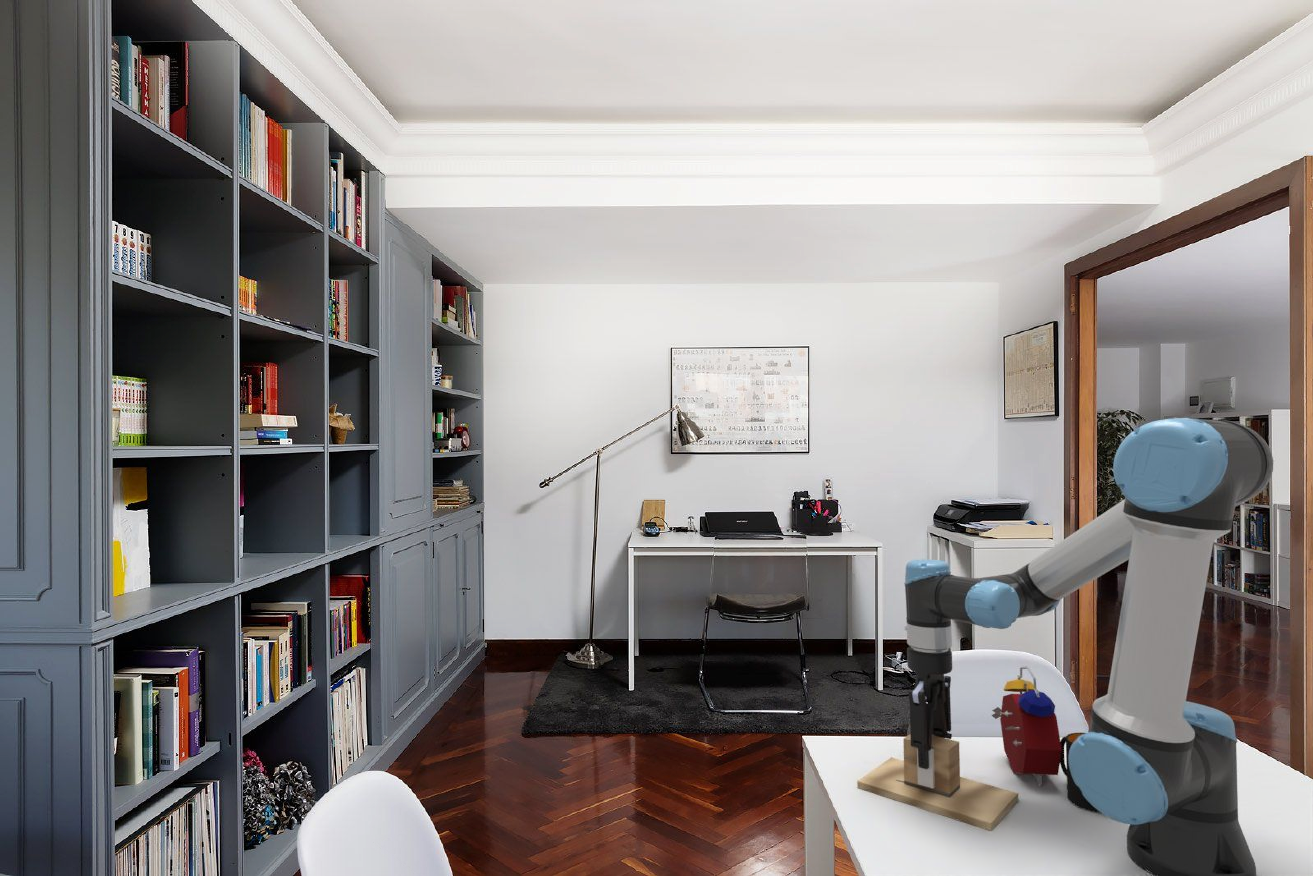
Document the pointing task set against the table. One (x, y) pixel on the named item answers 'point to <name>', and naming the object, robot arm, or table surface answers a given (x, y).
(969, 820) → the board
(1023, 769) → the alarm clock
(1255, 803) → the table surface
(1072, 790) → the mug
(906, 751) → the wooden block
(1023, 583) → the robot arm
